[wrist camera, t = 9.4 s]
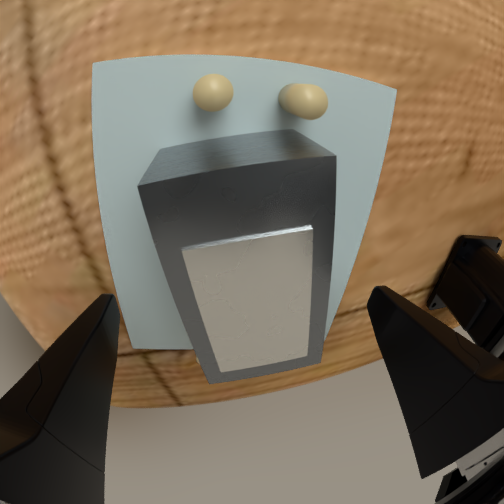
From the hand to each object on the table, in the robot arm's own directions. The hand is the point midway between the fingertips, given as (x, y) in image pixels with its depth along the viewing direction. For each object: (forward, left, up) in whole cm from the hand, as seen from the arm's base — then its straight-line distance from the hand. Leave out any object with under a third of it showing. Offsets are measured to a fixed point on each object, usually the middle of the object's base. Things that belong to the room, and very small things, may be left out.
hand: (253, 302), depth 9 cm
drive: (0, 0, -4) cm, 4 cm away
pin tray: (0, 0, -5) cm, 5 cm away
